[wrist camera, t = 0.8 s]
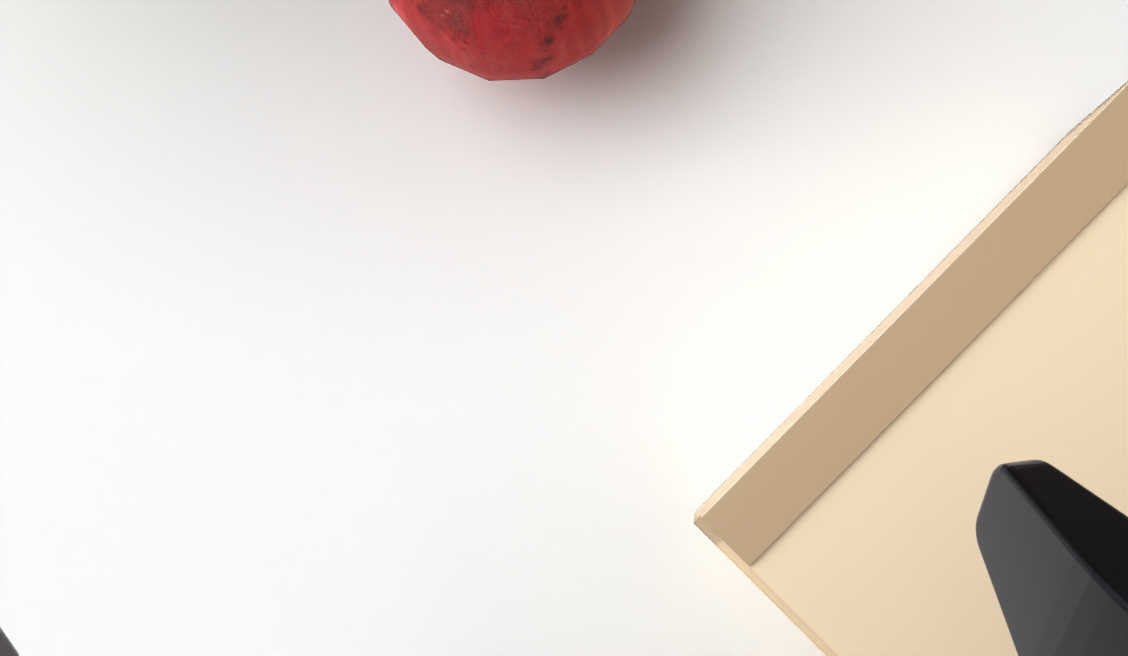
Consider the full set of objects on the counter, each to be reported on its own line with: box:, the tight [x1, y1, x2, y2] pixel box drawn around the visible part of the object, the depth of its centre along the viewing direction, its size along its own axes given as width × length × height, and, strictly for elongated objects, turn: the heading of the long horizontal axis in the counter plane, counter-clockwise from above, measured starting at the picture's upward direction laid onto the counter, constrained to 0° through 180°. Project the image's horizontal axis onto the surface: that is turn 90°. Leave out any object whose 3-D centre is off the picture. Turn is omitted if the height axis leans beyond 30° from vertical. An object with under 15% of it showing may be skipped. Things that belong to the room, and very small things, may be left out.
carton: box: [694, 81, 1128, 656], centre depth 20 cm, size 11×12×3 cm
